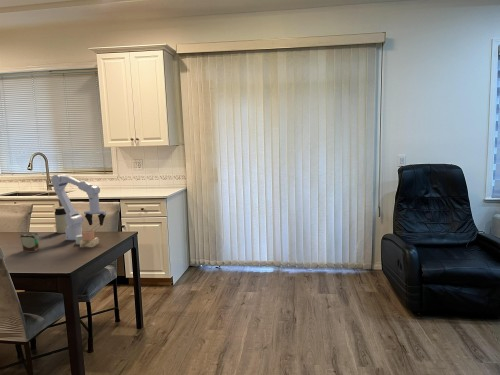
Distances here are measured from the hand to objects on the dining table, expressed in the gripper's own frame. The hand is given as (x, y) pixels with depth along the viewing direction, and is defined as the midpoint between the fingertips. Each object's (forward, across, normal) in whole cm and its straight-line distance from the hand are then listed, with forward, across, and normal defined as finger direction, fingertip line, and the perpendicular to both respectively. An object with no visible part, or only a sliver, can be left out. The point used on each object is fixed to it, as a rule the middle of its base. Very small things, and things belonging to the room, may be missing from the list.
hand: (96, 225), depth 237 cm
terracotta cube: (+6, +2, -12) cm, 13 cm away
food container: (+10, -27, -24) cm, 37 cm away
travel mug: (+10, -38, +17) cm, 43 cm away
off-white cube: (+10, -6, -8) cm, 14 cm away
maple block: (+10, +2, -11) cm, 15 cm away
